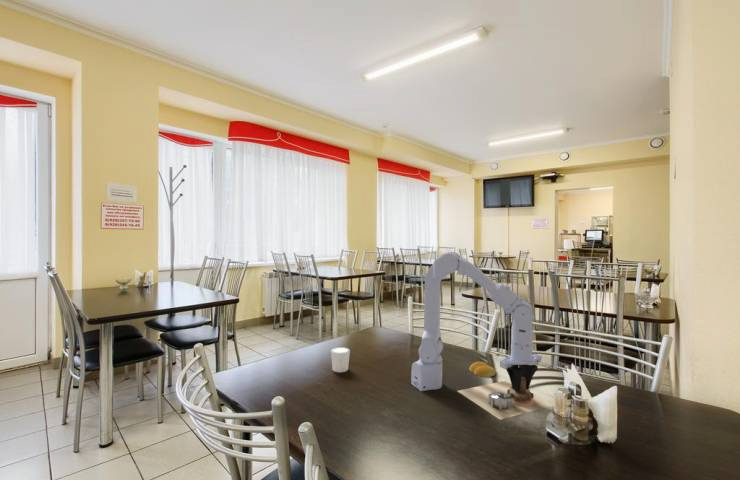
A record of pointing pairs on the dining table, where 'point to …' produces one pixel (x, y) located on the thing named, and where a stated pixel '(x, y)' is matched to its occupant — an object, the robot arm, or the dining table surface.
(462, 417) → the dining table surface
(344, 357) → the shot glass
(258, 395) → the dining table surface
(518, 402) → the pink flat pad
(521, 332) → the robot arm
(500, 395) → the sun gear
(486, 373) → the bread roll
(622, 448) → the dining table surface
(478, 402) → the carrier board
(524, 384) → the planet gear
